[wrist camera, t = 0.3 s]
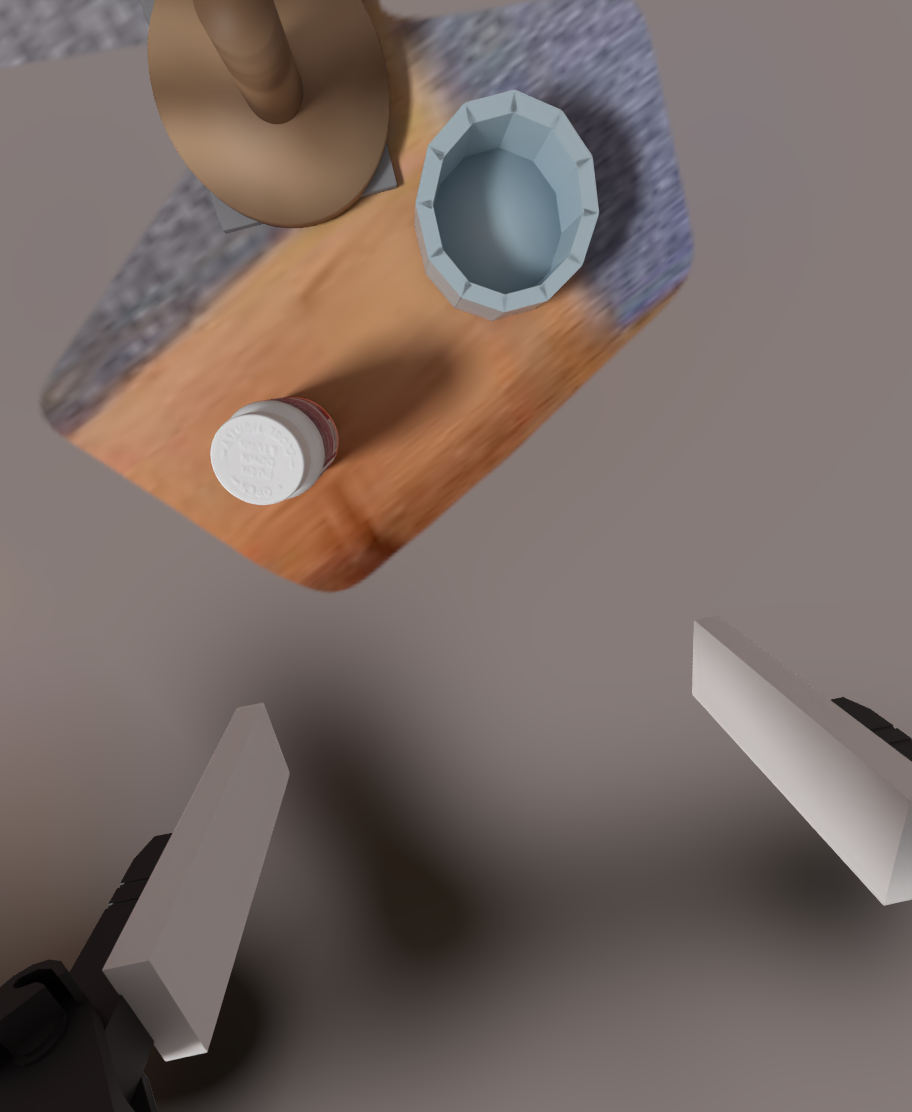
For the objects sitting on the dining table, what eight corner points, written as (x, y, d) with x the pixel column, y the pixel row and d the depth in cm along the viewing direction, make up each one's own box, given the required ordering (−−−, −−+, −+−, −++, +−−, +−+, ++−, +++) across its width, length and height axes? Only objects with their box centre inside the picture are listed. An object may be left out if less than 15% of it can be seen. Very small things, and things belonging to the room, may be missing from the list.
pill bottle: (280, 380, 36) (227, 378, 25) (354, 425, 37) (333, 442, 27) (245, 451, 37) (180, 478, 27) (317, 491, 39) (283, 532, 28)
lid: (112, -26, 27) (-1, -181, 20) (349, -88, 27) (327, -266, 20) (215, 251, 32) (156, 212, 25) (415, 198, 32) (417, 143, 25)
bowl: (398, 159, 32) (396, 121, 27) (556, 117, 32) (582, 71, 27) (439, 335, 36) (444, 328, 31) (581, 297, 36) (607, 284, 31)
